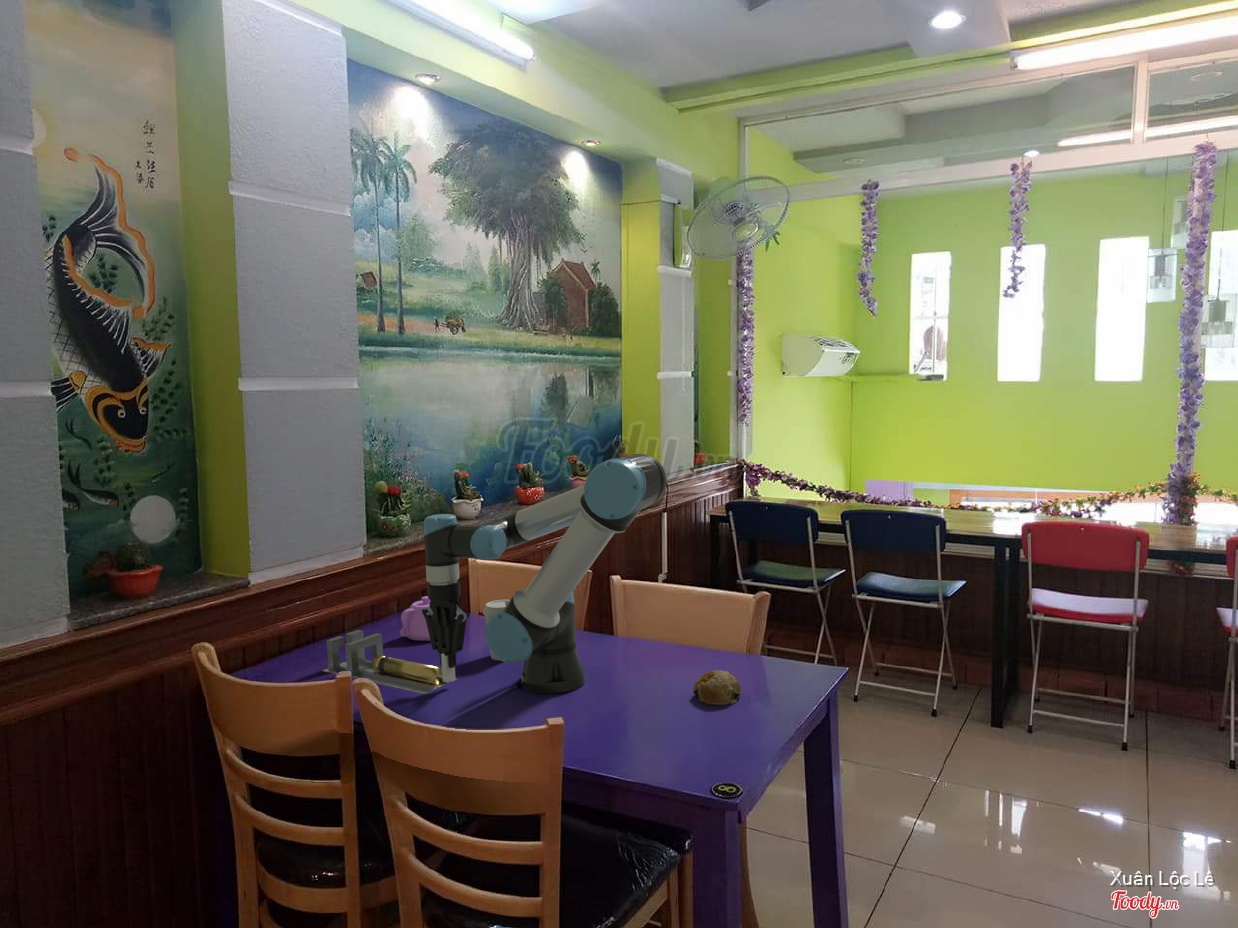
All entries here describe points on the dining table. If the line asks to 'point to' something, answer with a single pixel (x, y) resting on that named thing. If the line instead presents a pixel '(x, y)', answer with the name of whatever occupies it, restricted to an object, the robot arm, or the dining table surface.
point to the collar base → (369, 662)
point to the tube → (408, 669)
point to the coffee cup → (491, 610)
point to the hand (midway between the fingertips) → (449, 679)
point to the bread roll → (717, 688)
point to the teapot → (415, 621)
